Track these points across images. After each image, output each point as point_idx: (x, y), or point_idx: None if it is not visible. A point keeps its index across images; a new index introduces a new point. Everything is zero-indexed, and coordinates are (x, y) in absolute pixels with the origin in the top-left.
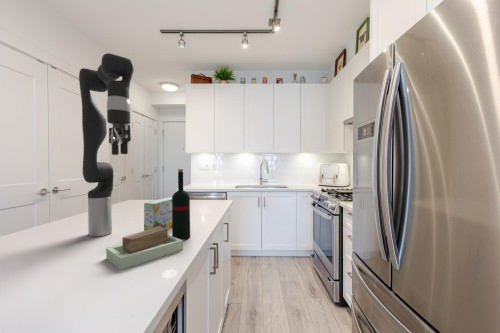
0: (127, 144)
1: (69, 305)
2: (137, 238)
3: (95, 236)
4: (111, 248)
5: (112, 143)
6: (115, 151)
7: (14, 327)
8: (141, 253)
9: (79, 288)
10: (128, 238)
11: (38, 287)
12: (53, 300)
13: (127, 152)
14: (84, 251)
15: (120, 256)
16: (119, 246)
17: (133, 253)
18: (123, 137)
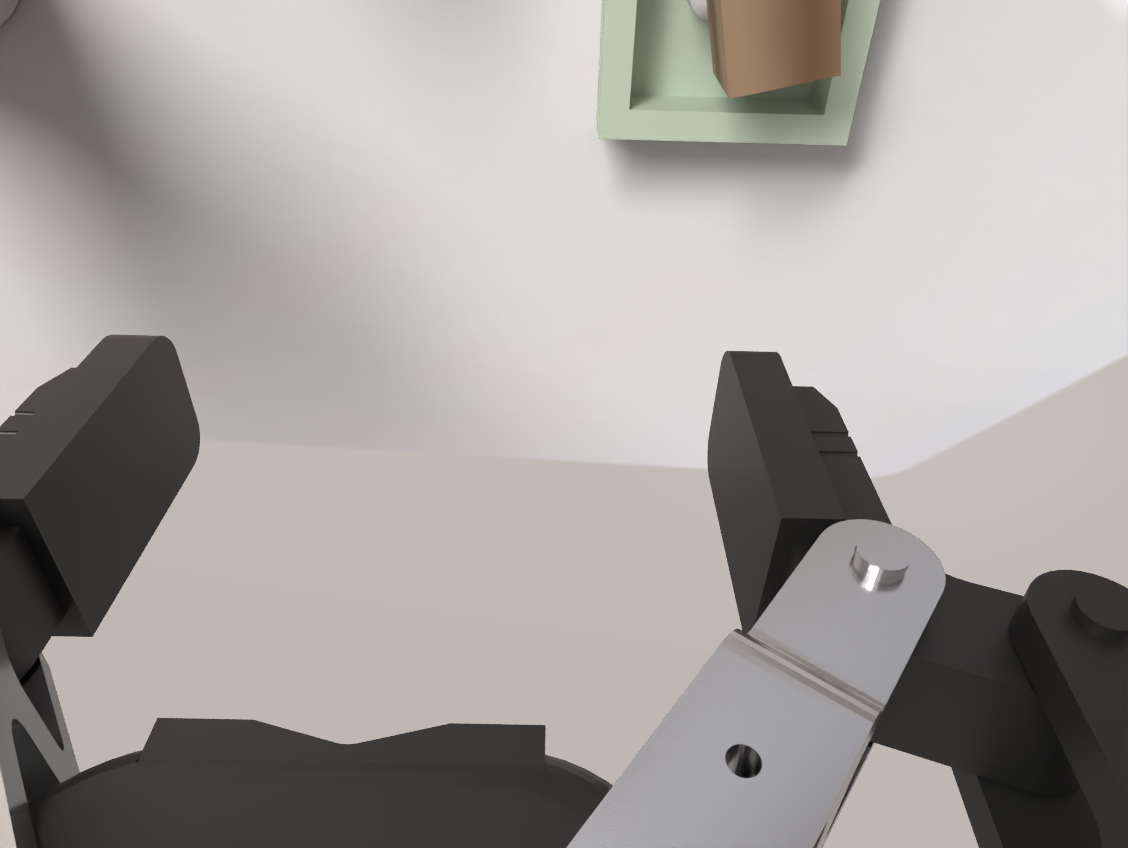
0: (837, 507)
1: (937, 360)
2: (838, 25)
3: (16, 4)
4: (629, 117)
5: (48, 669)
6: (156, 441)
7: (909, 465)
8: (875, 10)
9: (843, 310)
10: (794, 81)
11: (692, 397)
12: (850, 384)
13: (780, 365)
14: (360, 168)
15: (819, 136)
16: (631, 63)
17: (847, 59)
18: (1090, 823)
